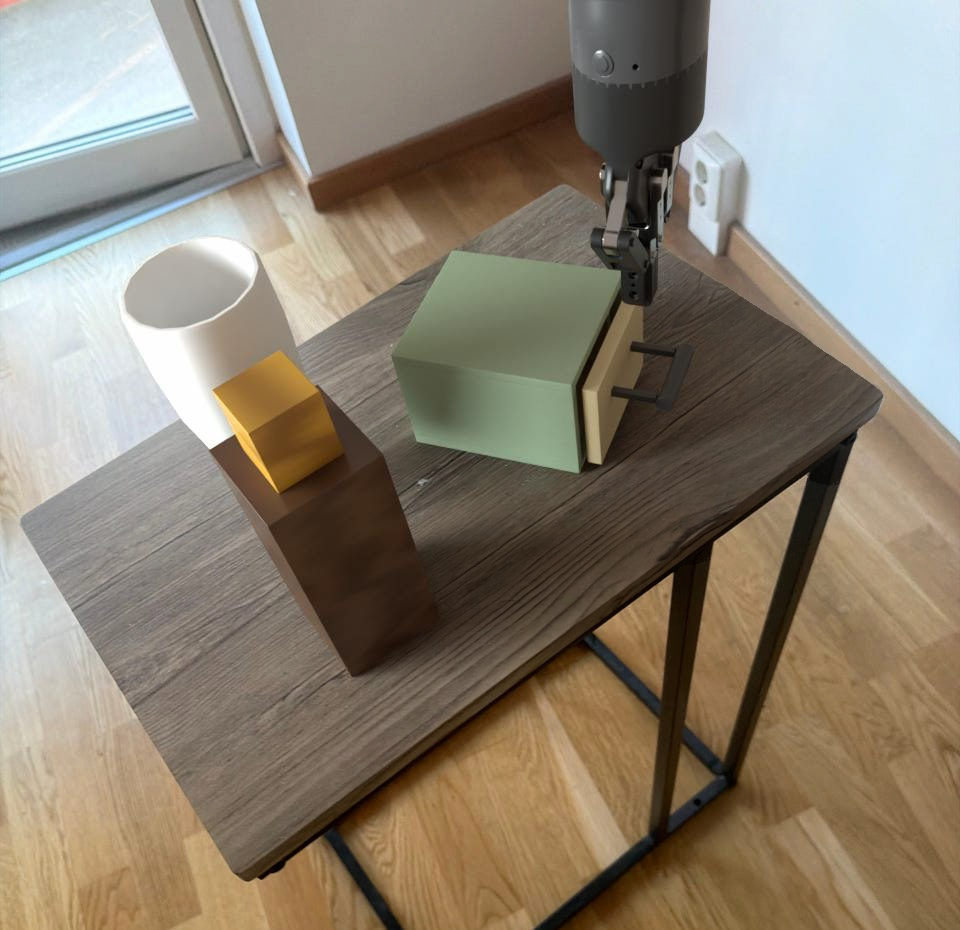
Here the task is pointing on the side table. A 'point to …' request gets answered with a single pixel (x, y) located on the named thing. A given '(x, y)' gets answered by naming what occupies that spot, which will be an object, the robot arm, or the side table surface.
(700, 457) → the side table surface
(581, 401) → the drawer
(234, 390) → the block
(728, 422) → the side table surface
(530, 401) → the cabinet
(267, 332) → the cup
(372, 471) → the stand
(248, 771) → the side table surface
